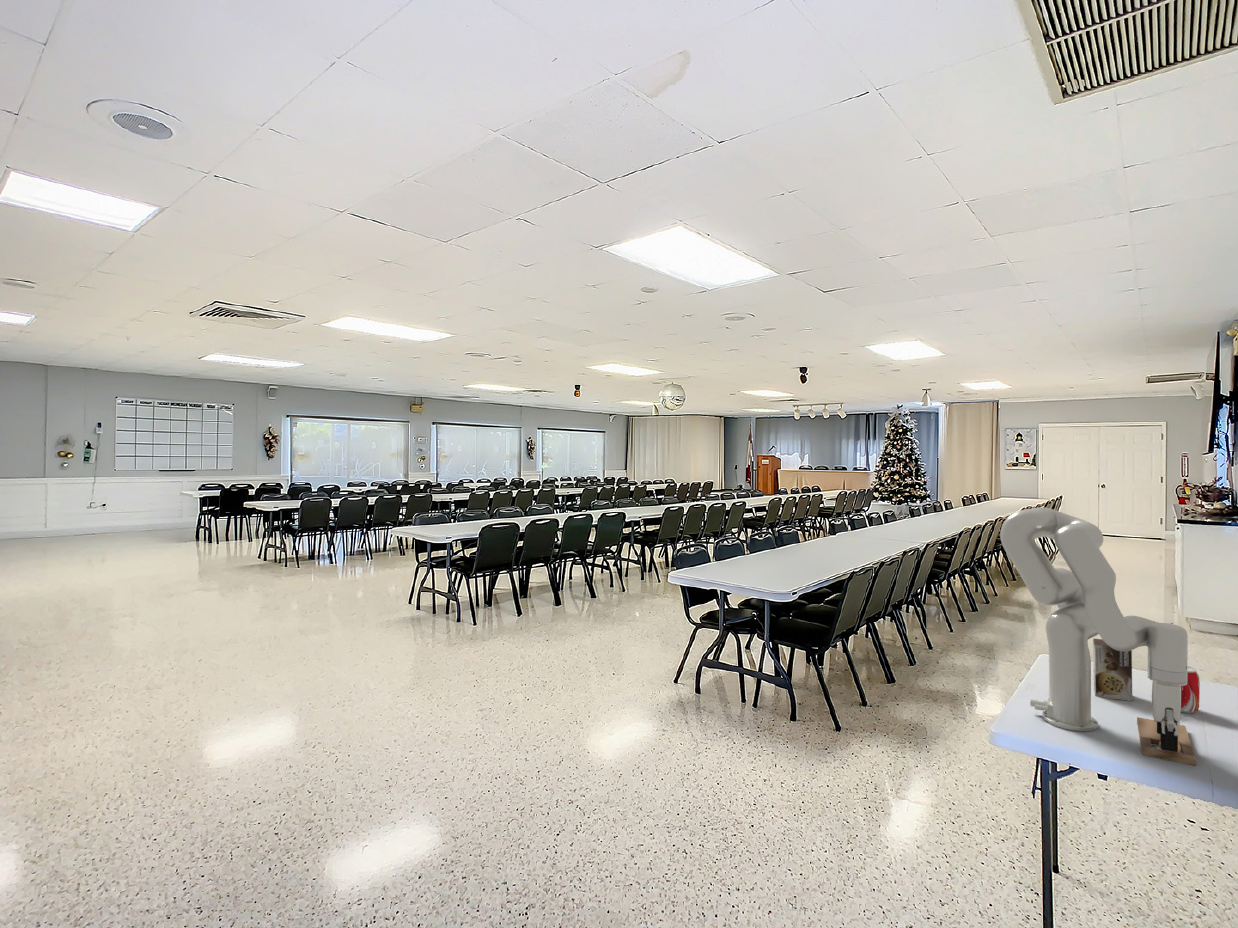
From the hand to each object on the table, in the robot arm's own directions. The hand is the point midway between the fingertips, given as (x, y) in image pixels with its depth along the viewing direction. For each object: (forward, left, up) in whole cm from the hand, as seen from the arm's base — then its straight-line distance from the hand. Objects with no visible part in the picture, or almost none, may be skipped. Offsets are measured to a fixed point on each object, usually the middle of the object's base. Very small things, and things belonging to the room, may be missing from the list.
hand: (1167, 742), depth 162 cm
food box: (-10, +36, -3) cm, 37 cm away
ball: (0, -1, -1) cm, 1 cm away
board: (0, +6, -2) cm, 6 cm away
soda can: (+6, +34, -3) cm, 34 cm away
